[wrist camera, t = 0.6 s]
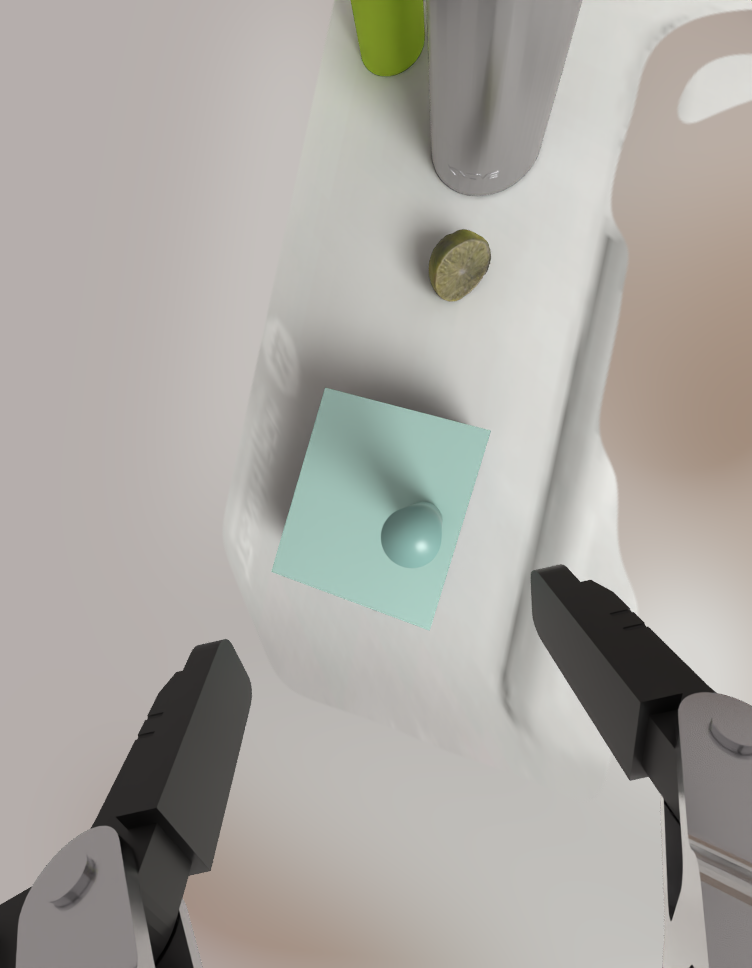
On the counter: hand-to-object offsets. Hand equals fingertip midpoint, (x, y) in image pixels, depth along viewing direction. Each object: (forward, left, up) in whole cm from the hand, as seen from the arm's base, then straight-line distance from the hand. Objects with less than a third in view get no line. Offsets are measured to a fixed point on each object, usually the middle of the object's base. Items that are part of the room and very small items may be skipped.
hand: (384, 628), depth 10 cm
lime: (-22, -4, -23) cm, 32 cm away
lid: (-2, -4, -18) cm, 18 cm away
